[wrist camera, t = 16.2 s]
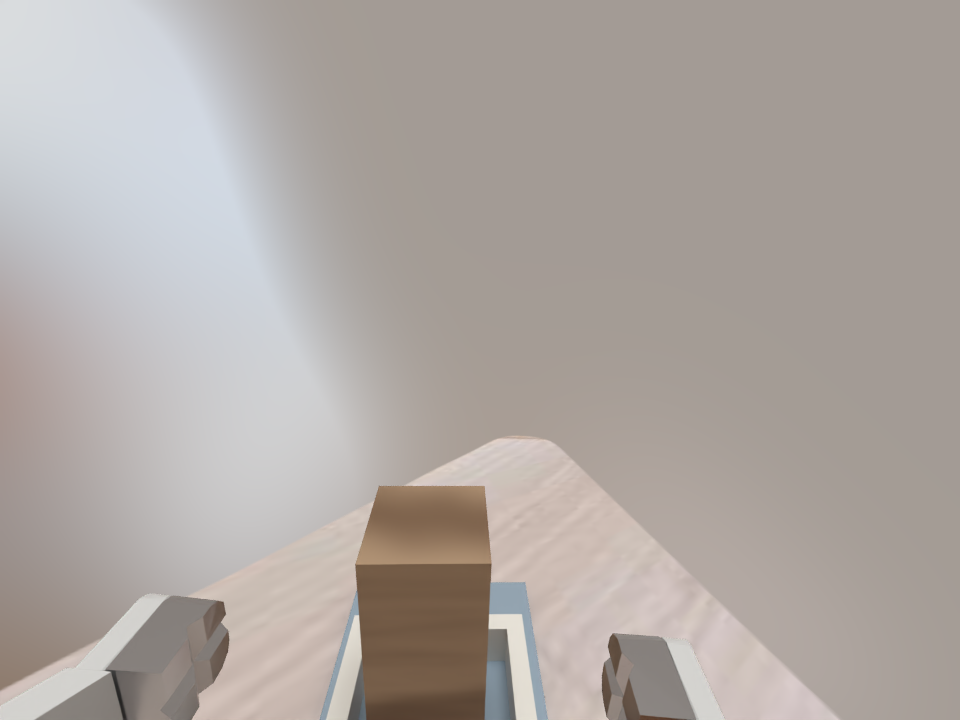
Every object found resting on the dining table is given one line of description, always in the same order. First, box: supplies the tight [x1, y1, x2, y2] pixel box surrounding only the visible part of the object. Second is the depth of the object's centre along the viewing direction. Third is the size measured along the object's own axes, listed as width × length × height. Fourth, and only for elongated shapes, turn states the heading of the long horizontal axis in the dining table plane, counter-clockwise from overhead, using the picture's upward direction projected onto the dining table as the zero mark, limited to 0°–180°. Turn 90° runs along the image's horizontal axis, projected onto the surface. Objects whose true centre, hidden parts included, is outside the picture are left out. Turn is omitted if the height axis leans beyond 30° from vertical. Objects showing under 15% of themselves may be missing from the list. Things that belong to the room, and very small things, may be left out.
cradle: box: [320, 582, 548, 720], centre depth 24 cm, size 16×12×3 cm
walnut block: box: [355, 486, 491, 720], centre depth 21 cm, size 5×5×13 cm
